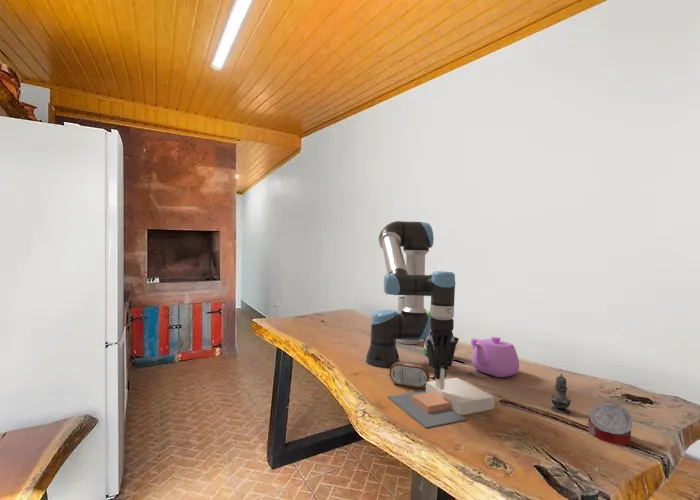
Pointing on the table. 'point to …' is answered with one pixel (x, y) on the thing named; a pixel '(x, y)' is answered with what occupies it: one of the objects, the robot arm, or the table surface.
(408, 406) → the mat
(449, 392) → the plate
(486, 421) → the table surface
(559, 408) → the dark grey turned piece
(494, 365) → the teapot
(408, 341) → the cylinder vase
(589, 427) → the canned food
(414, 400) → the tile
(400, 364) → the tin
